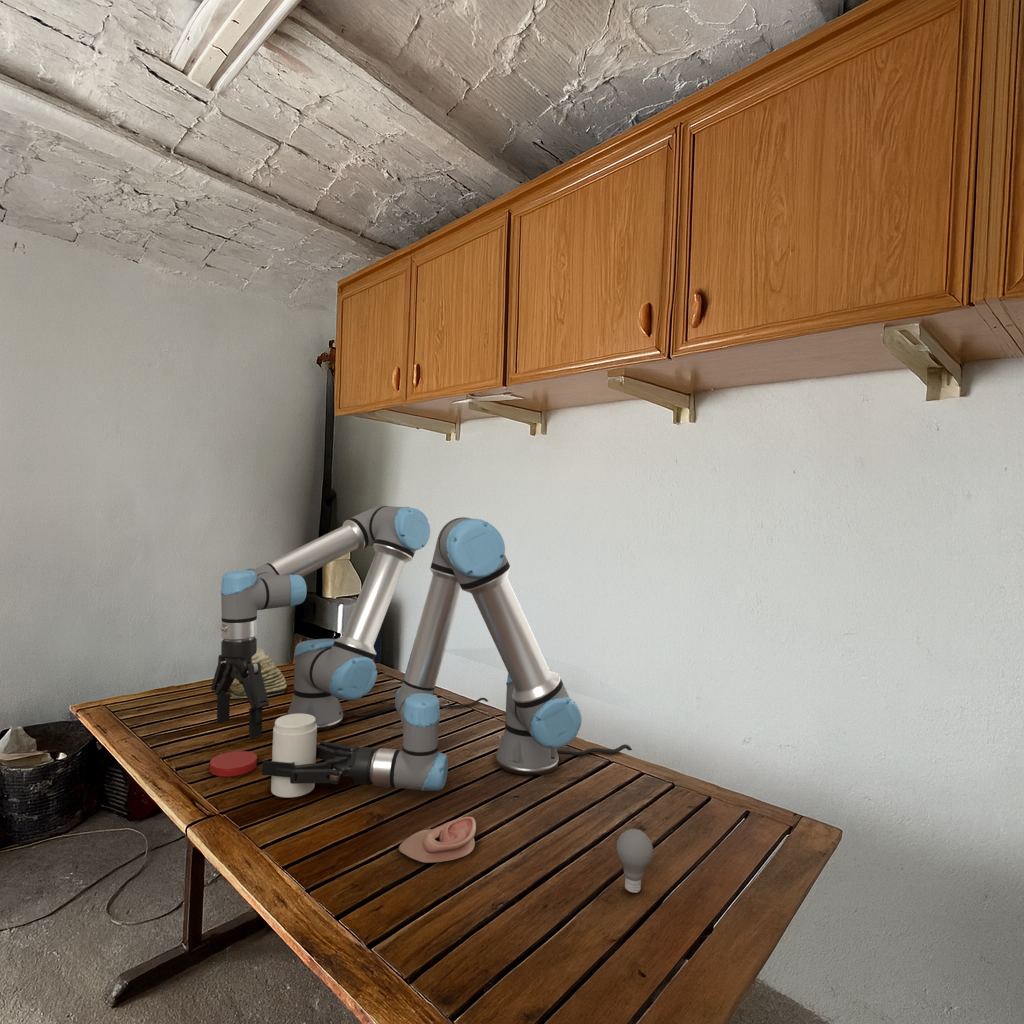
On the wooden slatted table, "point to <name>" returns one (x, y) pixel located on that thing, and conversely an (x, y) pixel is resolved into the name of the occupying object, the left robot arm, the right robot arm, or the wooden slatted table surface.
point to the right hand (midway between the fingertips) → (274, 758)
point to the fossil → (270, 676)
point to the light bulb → (634, 857)
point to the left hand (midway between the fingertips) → (238, 729)
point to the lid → (233, 763)
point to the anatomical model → (441, 842)
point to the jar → (293, 751)
